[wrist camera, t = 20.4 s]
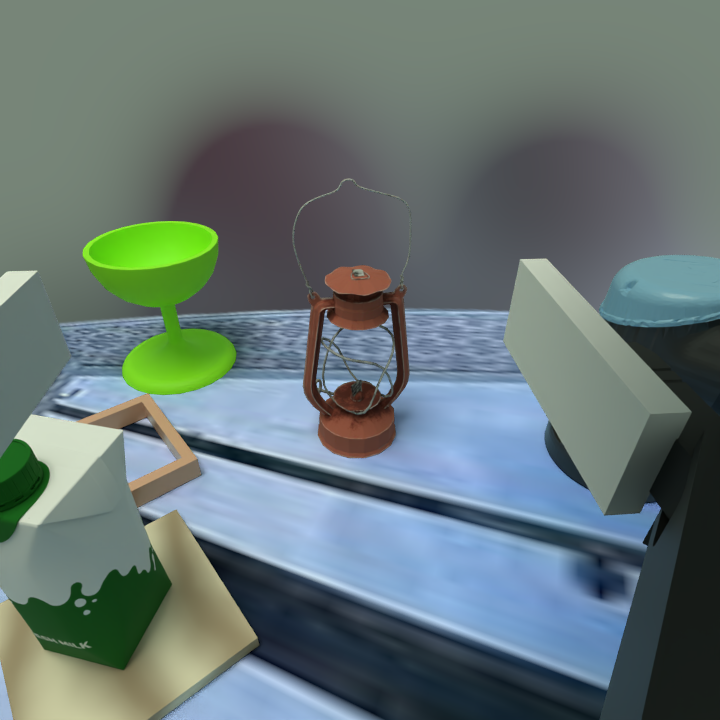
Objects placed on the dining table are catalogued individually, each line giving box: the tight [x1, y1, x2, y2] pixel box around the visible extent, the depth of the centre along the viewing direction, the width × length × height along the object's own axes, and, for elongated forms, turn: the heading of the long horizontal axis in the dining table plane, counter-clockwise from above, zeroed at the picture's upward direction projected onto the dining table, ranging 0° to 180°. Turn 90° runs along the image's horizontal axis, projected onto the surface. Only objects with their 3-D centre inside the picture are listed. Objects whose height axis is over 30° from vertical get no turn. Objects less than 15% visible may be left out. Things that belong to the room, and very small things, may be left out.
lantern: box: [293, 179, 411, 458], centre depth 53 cm, size 10×10×30 cm
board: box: [0, 510, 259, 720], centre depth 41 cm, size 16×16×1 cm
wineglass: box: [83, 221, 236, 395], centre depth 68 cm, size 16×16×18 cm
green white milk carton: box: [0, 415, 172, 670], centre depth 35 cm, size 9×9×20 cm
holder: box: [77, 394, 201, 508], centre depth 55 cm, size 14×14×2 cm
